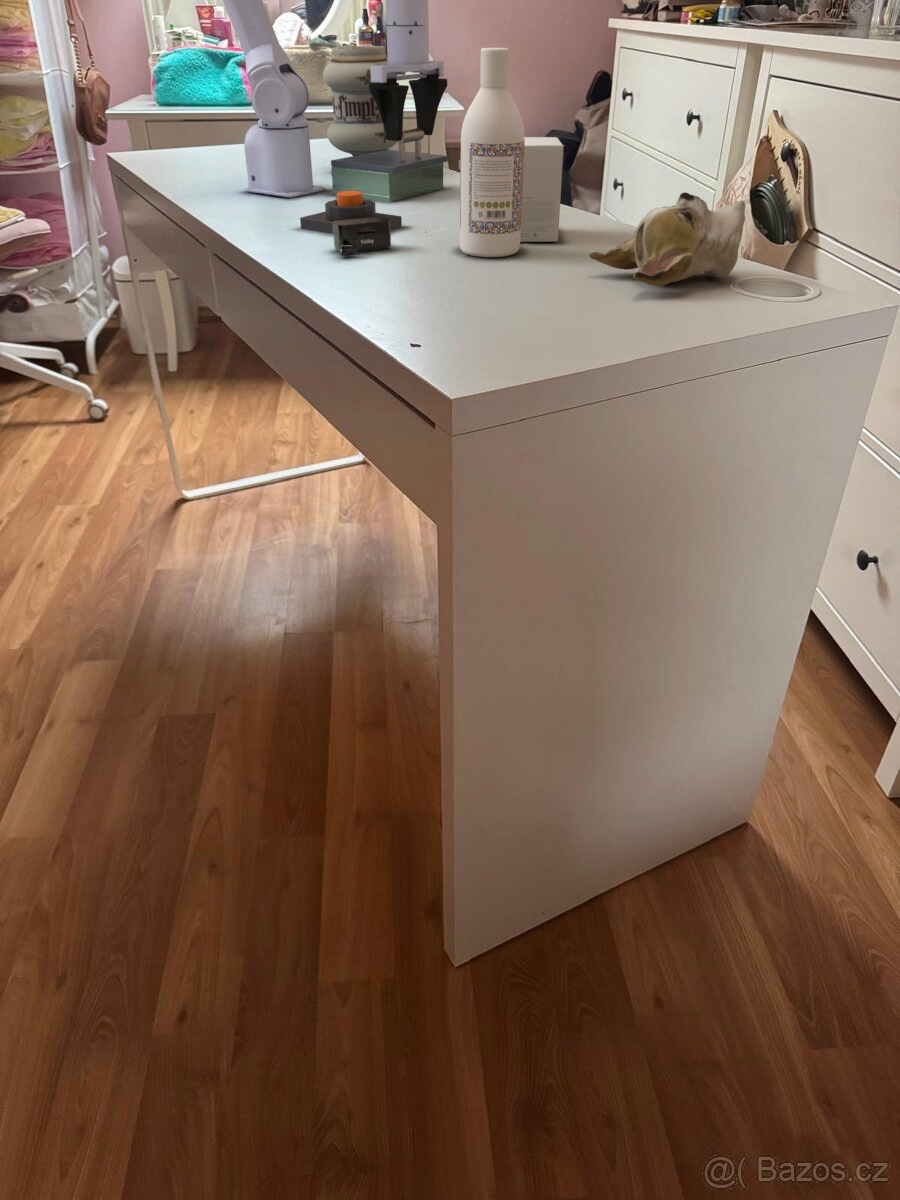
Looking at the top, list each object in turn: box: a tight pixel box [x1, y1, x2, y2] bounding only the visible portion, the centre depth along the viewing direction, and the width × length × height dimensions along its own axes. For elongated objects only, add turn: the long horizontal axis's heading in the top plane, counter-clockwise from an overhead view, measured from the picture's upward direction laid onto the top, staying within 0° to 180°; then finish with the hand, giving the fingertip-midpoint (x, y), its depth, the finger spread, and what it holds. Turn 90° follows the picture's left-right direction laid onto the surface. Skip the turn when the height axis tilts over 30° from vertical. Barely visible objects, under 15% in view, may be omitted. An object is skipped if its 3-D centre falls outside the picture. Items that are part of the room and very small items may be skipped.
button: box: [336, 191, 364, 206], centre depth 112 cm, size 3×3×2 cm
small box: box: [520, 136, 564, 243], centre depth 107 cm, size 8×6×10 cm
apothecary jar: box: [322, 45, 398, 156], centre depth 146 cm, size 12×12×18 cm
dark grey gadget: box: [333, 217, 392, 258], centre depth 102 cm, size 5×7×3 cm, turn 118°
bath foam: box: [459, 47, 526, 258], centre depth 98 cm, size 7×7×20 cm
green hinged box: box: [330, 162, 444, 203], centre depth 134 cm, size 11×14×4 cm
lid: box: [330, 127, 449, 173], centre depth 131 cm, size 11×14×5 cm
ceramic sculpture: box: [588, 191, 746, 287], centre depth 90 cm, size 11×9×15 cm
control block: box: [299, 198, 403, 235], centre depth 113 cm, size 10×8×3 cm
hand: (410, 137), depth 129 cm, fingers open, 7 cm apart
